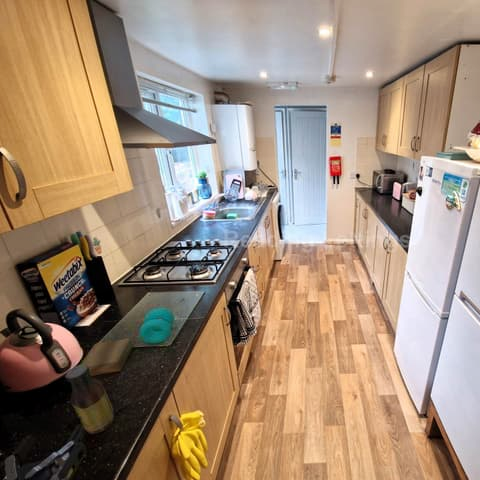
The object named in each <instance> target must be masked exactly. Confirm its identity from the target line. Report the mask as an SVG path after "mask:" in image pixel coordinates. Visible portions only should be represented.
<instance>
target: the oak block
mask: <svg viewBox="0 0 480 480" xmlns="http://www.w3.org/2000/svg"><path fill="white" fill-rule="evenodd" d="M133 349H134V345H133V341H132V339H131V337H129V338H124V339H117V340H110V341H104V342H98V343H97V342H96V343H94V344H93V345H92V347H91V349H90V350H89V352H87V354H86V356H85V357H84V359H83V360H82V361H81V363H80V364H79V365H82V364H85V365H87V366H88V368H89V373H90V375H91V376H92V377H94V376H98V375H105V374H110V373H115V372H121V371H122V370H123V367H124V366H125V364H126V362H127V360H128V357H129V356H130V354H131V353H132V350H133Z"/></svg>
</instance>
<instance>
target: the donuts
mask: <svg viewBox="0 0 480 480" xmlns="http://www.w3.org/2000/svg"><path fill="white" fill-rule="evenodd" d="M174 322H175V316H174V313H173V312H172V311H171V310H169V309H168V308H164V307H156V308H154V309H152V310H149V311H148V312H147V313H146V314H145V317H144V323H143V324H142V325H141V327H140V328H139V336H140V338H141V339H142V340H143V341H144V342H145V343H149V344H160V343H162V342H164V341H166V340H167V339H169V337H170V336H171V333H172V325H173V324H174Z"/></svg>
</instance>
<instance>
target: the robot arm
mask: <svg viewBox="0 0 480 480" xmlns="http://www.w3.org/2000/svg"><path fill="white" fill-rule="evenodd" d="M85 434H86V430H85V428H84V426H83V424H82V423H81V424H76V426H75V427H74V429H73V431H72V432H71V434H70V436H69V438H68V440H67V443H66V444H65V445H64V446H62V447H61V448H60V449H59V450H57V451H54V452H52V453H51V454H50V455H49V456H47V458H45V459H44V458H43V459H40V460H37V461H35V462H27V463H24V464H23V465H22V466H21V465H20V462H23V461H24V459H25V458H26V457H27V455H28V454H29V453H30V451H31V449H32V448H33V446H34V445H35V444H36V439H35V437H34V435H33V434H30V435H26V437H25V438H24V439H22V441H20V442H19V443H18V444H17V446H16V448H15V449H14V450H13V452H12V453H11V454H10V455H9V456H8V457H6V458H5V459H4V460H2V461H0V479H1V478H2V476H3V475H4V474H5V477H6V478H4V480H72V479H73V477H74V475H75V473H76V472H77V470H78V468H79V466H80V464H81V462H82V461H83V459H84V457H85V456H86V453H87V449H86V447H85V445H84V443H83V441H82V440H83V438H84V436H85ZM53 462H54V463H55V464H54V465H53V466H52V465H51V464H53Z"/></svg>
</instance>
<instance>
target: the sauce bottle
mask: <svg viewBox="0 0 480 480" xmlns="http://www.w3.org/2000/svg"><path fill="white" fill-rule="evenodd" d="M65 377H66V380H67V382H68V383H70V385H71V397H70V403H71V405H72V407H73V409H74V411H75V412H76V414H77V417H78V418H79V421H80V422H81V424H82V425H83V427H84V429H85V432H86V433H88V434H90V435H95V434H99V433H101V432H103V431H105V430H107V429H108V428H109V427H110V426H111V425H112V423H113V422H114V420H115V412H114V411H115V410H114V408H113V406H112V404H111V401H110V398H109V397H108V394H107V392H106V389H105V388H104V386H103V384H102V382H101V381H100V380H98V379H96V378H93V376H91V375H90V373H89V368H88V366H87V365H85V364H82V365H80V364H78V365H75V366H73V367H72V368H70V369H69V370H68V371H67V372H66V374H65Z"/></svg>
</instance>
